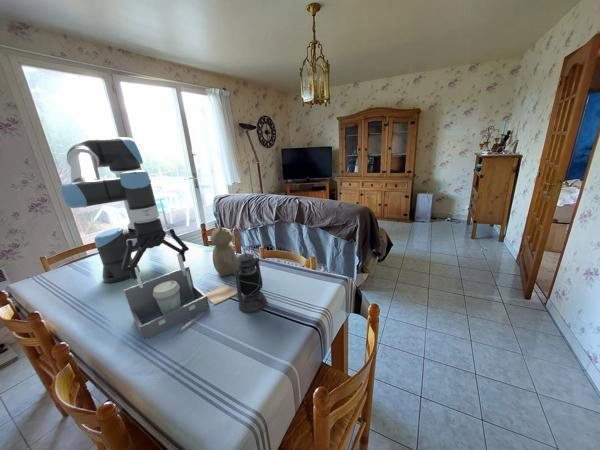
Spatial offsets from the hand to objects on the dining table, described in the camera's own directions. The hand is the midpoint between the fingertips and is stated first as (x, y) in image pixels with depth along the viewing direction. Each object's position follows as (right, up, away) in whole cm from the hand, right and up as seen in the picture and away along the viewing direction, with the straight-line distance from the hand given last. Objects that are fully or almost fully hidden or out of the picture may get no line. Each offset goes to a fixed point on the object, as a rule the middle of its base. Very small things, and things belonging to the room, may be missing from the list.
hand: (163, 278), depth 86 cm
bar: (+10, -16, 0) cm, 19 cm away
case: (+1, -14, +5) cm, 15 cm away
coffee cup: (+1, -15, +5) cm, 16 cm away
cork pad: (+15, -10, +15) cm, 24 cm away
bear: (+15, -4, +34) cm, 38 cm away
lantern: (+30, -12, +7) cm, 33 cm away
